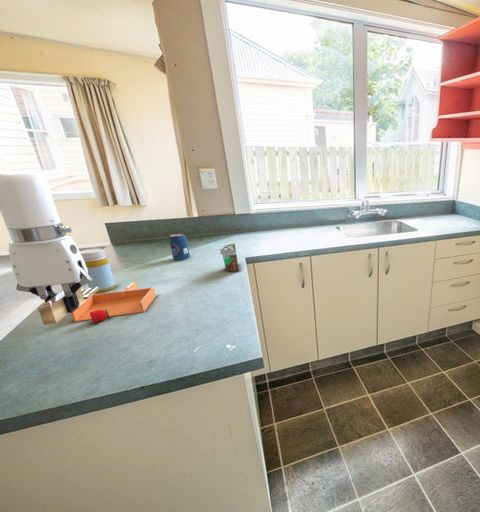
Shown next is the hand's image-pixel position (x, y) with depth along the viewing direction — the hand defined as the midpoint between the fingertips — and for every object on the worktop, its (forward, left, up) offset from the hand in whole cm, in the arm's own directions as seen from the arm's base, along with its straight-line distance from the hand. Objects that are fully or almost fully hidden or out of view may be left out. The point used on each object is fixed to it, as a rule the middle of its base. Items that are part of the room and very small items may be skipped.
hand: (65, 310), depth 68 cm
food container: (+29, +55, -13) cm, 63 cm away
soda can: (+6, +79, -13) cm, 80 cm away
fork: (0, +3, 0) cm, 3 cm away
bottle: (-13, +48, -13) cm, 51 cm away
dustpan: (-2, +33, -13) cm, 36 cm away
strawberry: (-5, +19, -11) cm, 23 cm away
